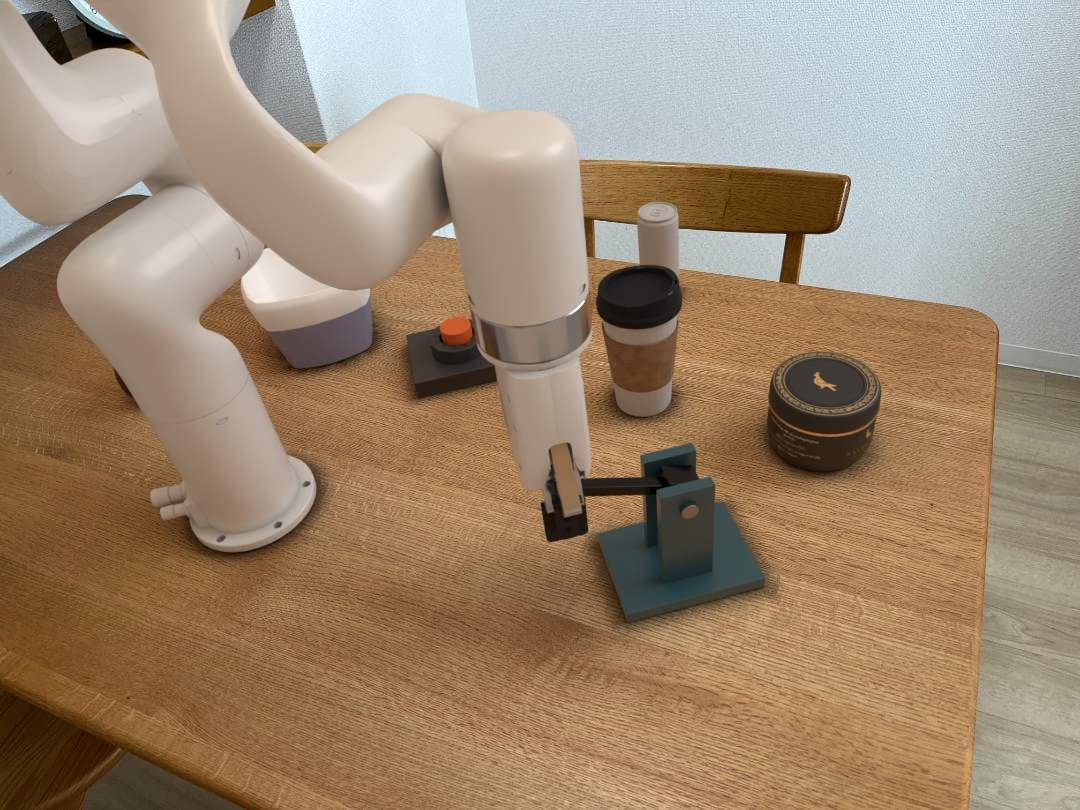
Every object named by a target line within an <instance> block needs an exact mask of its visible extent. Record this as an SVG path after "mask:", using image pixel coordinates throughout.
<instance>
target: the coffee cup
mask: <svg viewBox="0 0 1080 810" xmlns="http://www.w3.org/2000/svg"><path fill="white" fill-rule="evenodd" d="M680 285H681V284H680V278H679V279H678V277H677V275H676V274H675V272H674V271H673V270H671V269H669V268H667V267H664V266H658V265H640V264H639V265H632V266H625V267H621V268H619V269H616V270H614V271H611V272H610V273H608V274H607V275H605V276H604V277H603V278H602V279H601V280H600V281H599V283H598V285H597V295H596V298H595V305H596V307H595V308H596V312H597V314H598V316H599V317H600V319H601V320H602V321H601V331H602V337H603V342H604V345H605V350H606V351H605V352H606V355H607V360H608V361H607V362H608V366H609V369H610V374H611V379H612V384H613V390H614V396H615V400H616V405H617V406H618V408H619V409H620V410H621V411H622V412H624V413H625V414H627V415H630V416H633V417H638V418H639V417H641V418H644V417H645V418H646V417H652V416H655V415H659V414H660V413H662V412H663V411H665V410H666V409H667V408H668V407H669V405H670V403H671V399H672V393H673V380H674V379H673V378H674V373H675V372H674V371H675V364H676V363H675V362H676V354H677V344H678V334H679V324H680V321H679V317H678V315H679V313H680V311H681V309H682V307H683V293H682V291H681V287H680Z"/></svg>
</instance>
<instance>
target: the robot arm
mask: <svg viewBox="0 0 1080 810" xmlns="http://www.w3.org/2000/svg"><path fill="white" fill-rule="evenodd" d="M83 1H84V2H85V4H87V5H88V6H89V7H90V8H92V9H93V10H94V11H95V12H96V13H97V14H99V15H100V16H101V17H102V18H103V19H104V20H105V21H107V22H108V23H109V24H110V25H111V26H113V27H114V28H115V29H116V30H117V31H119V32H120V33H121V34H122V35H124V36H125V37H126V38H127V39H128V40H129V41H131V42H132V43H133V44H134V45H135V46H136V47H137V48H139V50H140V51H142V53H144V55H145V56H146V57H147V58H146V57H145V56H143V55H142V54H139V53H137V52H134V51H132V50H128V49H124V48H119V47H108V48H102V49H101V48H100V49H97V50H93V51H91V52H88V53H85V54H83V55H81V56H78V57H76V58H74V59H72V60H70V61H67V62H65V63H63V64H60V63H58V62H57V61H56V60H55V59H54V58H53V57H52V55H51V54H50V53H49V52H48V50H47V49H46V48H45V46H44V45H43V44H42V42H41V41H40V40H39V39H38V37H37V35H36V34H35V32H34V31H33V29H32V28H31V26H30V25H29V23H28V21H27V20H26V19H25V17H24V16H23V14H22V13H21V12H20V11H19V10H18V8H17V7H16V6H15V5H14V4H13V3H12V2H11V1H10V0H0V195H1V197H2V198H3V199H4V201H6V202H7V204H8V205H10V206H11V207H12V208H13V209H14V210H15V211H16V212H17V213H18V214H19V215H21V216H23V217H24V218H26V219H28V220H29V221H31V222H33V223H35V224H38V225H42V226H46V227H47V226H49V227H51V226H62V225H64V224H68V223H72V222H75V221H76V220H79V219H81V218H83V217H84V216H86V215H89V214H90V213H91V212H94V211H95V210H97V209H99V208H101V207H102V206H104V205H105V204H107V203H110V201H113V200H114V199H115V198H117V197H119V196H120V195H122V194H123V193H125V192H126V191H128V190H129V189H131V188H133V187H134V186H136V185H137V184H139V183H142V184H143V185H144V186H145V187H146V189H147V190H148V191H149V192H150V193H151V195H150V196H149V197H147V198H145V199H144V200H142V201H141V202H139V203H138V204H137V205H135V206H133V207H132V208H130V209H127V210H126V211H125V212H123V213H121V214H120V215H119V216H117V217H115V218H114V219H112V220H111V221H110V222H108V223H107V224H105V225H103V226H102V227H101V228H99V229H97V230H96V231H95V232H93V233H91V234H90V235H89V236H87V237H86V238H85V239H84V240H82V241H80V243H78V244H77V246H75V248H73V250H72V251H71V252H70V253H69V254H68V255H67V256H66V257H65V259H64V260H63V261H62V264H61V266H60V268H59V271H58V274H57V278H56V291H57V295H58V298H59V300H60V303H61V305H62V307H63V308H64V310H65V311H66V313H67V314H68V316H69V317H70V318H71V319H72V321H73V322H74V323H75V324H76V325H77V327H78V328H79V329H80V330H81V331H82V332H83V333H84V334H85V335H86V336H87V337H88V339H89V340H90V341H91V342H92V343H93V344H94V345H95V346H96V347H97V349H98V350H99V351H100V352H101V354H102V355H104V357H105V358H106V359H107V361H108V362H109V363H110V365H111V366H112V367H114V368H115V370H116V371H117V373H118V374H119V375H120V377H121V378H122V380H123V381H124V383H125V384H126V386H127V388H128V389H129V391H130V392H131V394H132V396H133V397H134V398H133V397H132V398H133V399H134V400H135V402H136V404H137V406H138V407H139V409H140V410H141V413H142V414H143V416H144V417H145V419H146V420H147V422H148V423H149V426H150V427H151V429H152V430H153V432H154V434H155V435H156V437H157V439H158V441H159V442H160V444H161V446H162V447H163V450H164V451H165V453H166V455H167V456H168V457H169V460H170V461H171V463H172V464H173V466H174V468H175V470H176V471H177V474H178V475H179V476H180V478H181V483H177V484H174V485H166V486H162V487H161V486H160V487H157V488H153V489H151V490H150V493H149V498H150V502H151V504H152V507H154V509H158V508H159V514H160V518H161V519H162V521H163V522H166V521H169V520H173V519H178V518H179V517H183V516H186V517H188V518H189V525H190V527H191V530H192V532H193V533H194V535H195V537H196V538H197V540H198V541H199V542H201V543H202V544H203V545H204V546H205V547H208V548H210V549H211V550H214V551H219V552H223V553H239V552H241V553H242V552H247V551H251V550H255V549H260V548H261V547H265V546H267V545H269V544H272V543H273V542H275V541H277V540H279V539H281V538H283V537H285V536H286V535H287V534H288V533H290V532H291V531H292V530H294V529H295V528H296V527H297V526H298V525H299V524H301V522H302V521H303V520H304V519H305V517H306V516H307V515H308V514H309V512H310V510H311V508H312V506H313V505H314V502H315V499H316V496H317V482H316V479H315V476H314V474H313V472H312V470H311V468H310V467H309V466H308V465H307V464H306V462H304V461H302V460H301V459H299V458H298V457H295V456H292V455H288V454H287V452H286V450H285V448H284V445H283V443H282V441H281V439H280V437H279V435H278V432H277V430H276V428H275V426H274V424H273V421H272V420H271V417H270V415H269V413H268V411H267V408H266V406H265V404H264V402H263V400H262V397H261V395H260V393H259V391H258V388H257V387H256V384H255V382H254V380H253V377H252V375H251V373H250V371H249V369H248V367H247V365H246V363H245V360H244V359H243V356H242V355H241V353H240V351H239V350H238V348H237V346H235V344H234V343H233V342H232V341H231V340H230V339H228V337H226V336H224V335H223V334H220V333H218V332H217V331H213V330H210V329H207V328H205V327H203V326H202V324H201V322H200V320H201V317H202V314H203V313H204V312H205V311H206V310H207V308H209V307H210V306H211V305H213V303H215V301H216V300H217V299H219V297H221V296H222V294H224V293H225V292H226V291H227V290H229V289H230V288H231V287H233V285H235V283H237V282H238V281H239V280H241V277H242V276H244V275H245V274H246V273H247V272H248V271H249V270H250V269H251V268H252V267H253V266H254V265H255V264H256V263H257V261H258V260H259V258H260V257H261V255H262V252H263V249H265V246H266V248H269V249H271V250H272V251H273V252H275V253H276V254H277V255H278V256H280V257H281V258H282V259H283V260H285V261H286V262H287V263H289V264H290V265H292V266H293V267H295V268H296V269H297V270H299V271H300V272H302V273H304V274H305V275H307V276H309V277H311V278H312V279H314V280H316V281H318V282H320V283H322V284H325V285H328V286H330V287H333V288H337V289H341V290H351V291H356V290H363V289H369V288H370V289H372V288H374V287H376V286H378V285H380V284H382V283H384V282H385V281H387V280H389V279H390V278H391V277H392V276H393V275H394V274H395V273H396V272H398V270H400V269H401V268H402V267H403V266H404V265H405V264H406V263H407V261H409V259H411V258H412V256H414V254H415V253H416V252H418V250H419V249H420V248H421V247H422V246H423V244H424V243H425V242H427V241H428V239H429V238H430V237H431V236H432V235H433V234H434V233H435V232H436V231H438V230H440V229H443V228H444V227H446V226H449V225H450V224H452V226H453V233H454V236H455V241H456V245H457V246H456V247H457V251H458V257H459V261H460V266H461V267H460V268H461V272H462V276H463V282H464V286H465V287H464V288H465V290H466V296H467V301H468V306H469V311H470V318H471V319H472V322H473V327H474V332H475V337H476V342H477V347H478V350H479V352H480V353H481V355H482V356H483V357H484V358H485V359H486V360H487V361H489V362H490V363H492V364H494V365H495V371H496V377H497V380H496V381H497V387H498V393H499V400H500V401H499V402H500V406H501V407H500V409H501V413H502V418H503V423H504V426H505V430H506V434H507V435H506V436H507V439H508V441H509V446H510V449H511V453H512V457H513V460H514V464H515V467H516V471H517V474H518V478H519V481H520V484H521V486H522V488H523V489H525V490H526V491H527V492H530V493H533V492H535V491H541V492H542V497H543V501H542V502H540V510H541V514H542V515H541V516H542V522H543V528H544V534H545V538H546V541H547V542H548V543H555V542H559V541H563V540H569V539H573V538H576V537H580V536H584V535H586V534H588V532H589V522H588V511H587V503H586V497H585V496H584V493H583V490H582V484H581V478H584V479H586V478H589V476H590V474H591V471H592V451H591V440H590V439H591V438H590V431H589V430H590V429H589V420H588V412H587V403H586V395H585V387H584V385H585V381H584V379H583V373H582V365H581V357H580V354H581V353H583V352H584V351H585V349H587V347H588V346H589V344H590V342H591V341H592V337H593V333H594V331H593V330H594V329H593V327H594V326H593V317H592V316H593V315H592V306H591V305H592V304H591V293H590V279H589V266H588V254H587V242H586V228H585V216H584V205H583V193H582V191H583V190H582V180H581V179H582V178H581V168H580V157H579V150H578V144H577V139H576V137H575V135H574V133H573V131H572V129H571V128H570V126H569V125H568V124H567V123H566V122H565V121H564V120H562V119H561V118H559V117H557V116H556V115H554V114H552V113H549V112H547V111H543V110H537V109H527V108H526V109H523V108H517V109H506V110H504V109H503V110H498V111H490V110H486V109H481V108H479V107H474V106H470V105H467V104H464V103H461V102H457V101H454V100H451V99H447V98H444V97H440V96H436V95H432V94H426V93H417V92H414V93H403V94H399V95H396V96H394V97H391V98H389V99H387V100H386V101H384V102H382V103H380V104H379V105H378V106H377V107H376V108H374V109H373V110H372V111H370V112H369V113H367V114H366V115H365V116H363V117H362V118H361V119H360V120H358V121H357V122H355V123H353V124H351V125H350V126H349V127H347V128H346V129H345V130H343V131H342V132H341V133H339V134H338V135H337V136H335V137H334V138H333V139H331V140H330V141H329V142H328V143H326V144H325V145H324V146H322V147H321V148H319V149H318V150H317V151H316V152H315V153H314V152H313V151H312V150H311V149H310V148H308V147H307V146H306V145H305V144H304V143H302V142H301V141H300V140H299V139H298V138H296V137H295V136H294V135H293V134H291V132H290V131H288V130H286V128H285V127H284V126H283V125H281V124H280V123H279V122H278V121H277V120H276V119H275V118H274V117H273V116H272V115H271V114H270V113H269V112H268V111H267V110H266V109H265V108H264V107H263V106H262V105H261V104H260V102H259V101H258V100H257V99H256V97H255V95H253V93H252V92H251V91H250V90H249V88H248V87H247V85H246V83H245V82H244V80H243V78H242V76H241V74H240V73H239V71H238V68H237V65H236V63H235V59H234V57H233V54H232V50H231V45H230V42H231V41H232V39H233V37H234V36H235V34H236V32H237V30H238V28H239V27H240V25H241V22H242V20H243V19H244V17H245V14H246V12H247V9H248V7H249V5H250V2H251V0H83ZM114 368H113V369H114ZM551 465H552V467H551ZM552 482H556V485H557V490H558V493H557V494H553V495H551V490H550V484H549V483H552ZM179 502H181V503H179Z"/></svg>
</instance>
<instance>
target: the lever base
mask: <svg viewBox="0 0 1080 810" xmlns="http://www.w3.org/2000/svg"><path fill="white" fill-rule="evenodd" d="M639 456H640V474H641V476H640V477H657V474H658V472H659V469H660V466H663V465H692V466H693V468H694V469H695V471H696V472H697V449H696V446H695V445H694V443H693V442H689V443H685V444H680V445H676V446H672V447H667V448H664V449H660V450H656V451H652V452H648V453H644V454H641V455H639ZM641 496H642V512H643V521H642V522H638V523H634V524H630V525H626V526H622V527H618V528H614V529H611V530H606V531H603V532H599V533H597V541H598V545H599V547H600V550H601V553H602V556H603V558H604V561H605V564H606V567H607V570H608V572H609V576H610V578H611V581H612V584H613V587H614V589H615V592H616V594H617V597H618V600H619V603H620V607H621V609H622V612H623V614H624V617H625V619H626V623H628V624H629V623H633V622H636V621H640V620H644V619H647V618H653V617H655V616H659V615H664V614H667V613H670V612H674V611H678V610H681V609H686V608H690V607H693V606H697V605H701V604H704V603H708V602H711V601H716V600H720V599H724V598H727V597H731V596H736V595H738V594H743V593H746V592H747V593H748V592H750V591H755V590H757V589H762V588H765V583H766V577H765V576H764V574H763V572H762V570H761V568H760V566H759V564H758V562H757V561H756V559H755V557H754V555H753V553H752V551H751V549H750V548H749V546H748V544H747V542H746V541H745V539H744V537H743V535H742V533H741V531H740V529H739V528H738V526H737V523H736V522H735V520H734V519H733V517H732V514H731V513H730V511H729V509H728V507H727V505H726V504H725V502H724V501H721V502H717V503H716V484H715V482H714V479H713V478H712V476H707V477H702V478H699V479H698V480H694V481H690V482H686V483H682V484H678V485H674V486H670V487H666V488H662V489H658V490H656V495H641Z"/></svg>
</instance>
